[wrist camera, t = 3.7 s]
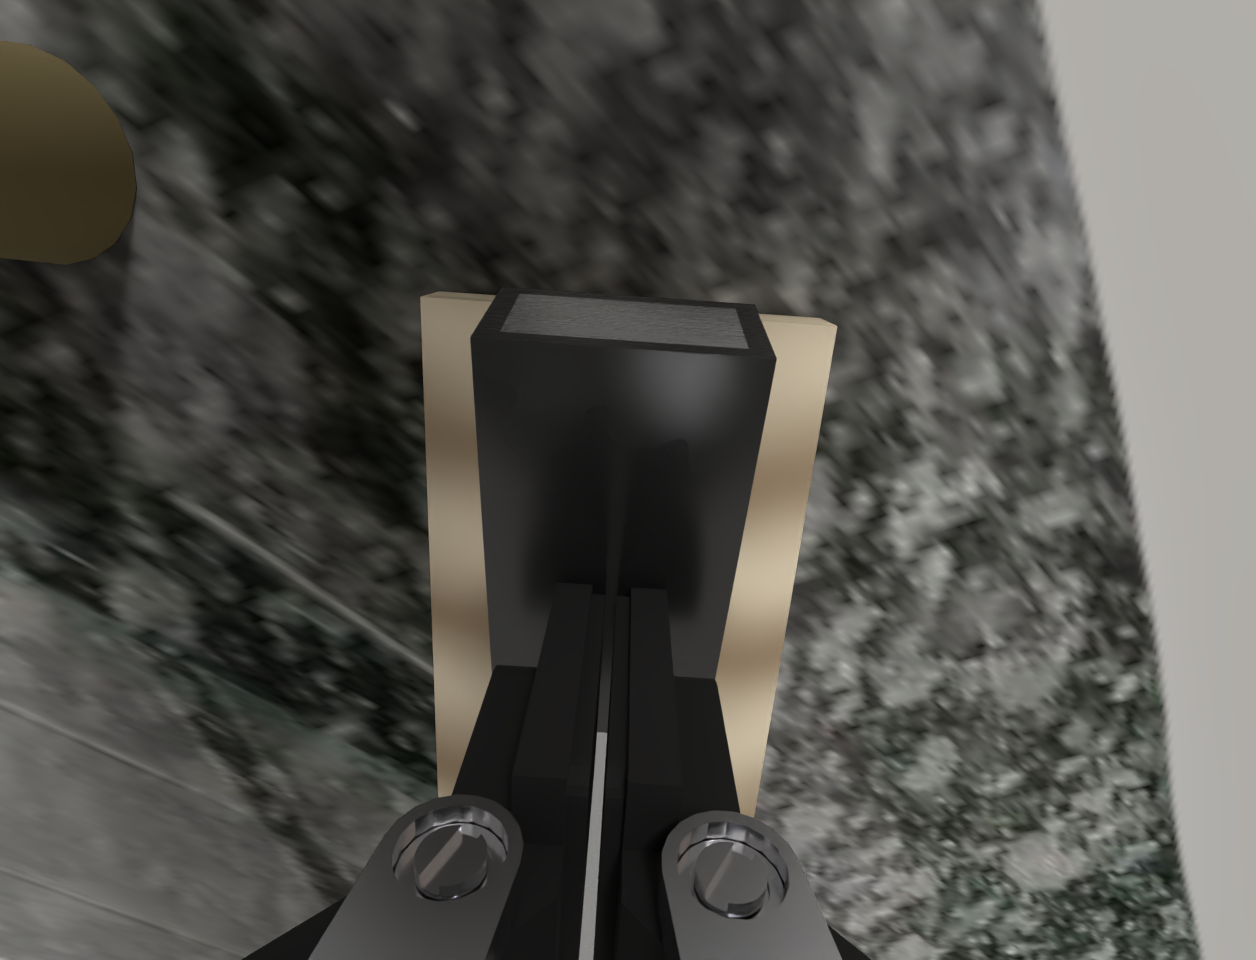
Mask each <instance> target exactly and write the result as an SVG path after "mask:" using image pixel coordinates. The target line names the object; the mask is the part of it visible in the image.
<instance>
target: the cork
mask: <svg viewBox="0 0 1256 960" xmlns="http://www.w3.org/2000/svg"><path fill="white" fill-rule="evenodd" d="M135 193H136V180H135V172H134V164H133V156H132V152H131V149H130V147H129V144H128V142H127V139H126V137H125V135H124V132H123V130H122V127H121V125H120V122H119V120H118V118H117V116H116V115H115V114H114V112H113V111H112V110H111V108H110V107H109V105H108V104H107V103H106V101H105V100H104V99H103V97H102V96H101V95H100V93H99V92H98V90H97V89H96V88H95V86H94V85H92V84H91V83H90V82H89V81H88V80H86V79H85V78H84V77H83V76H82V75H81V74H79V73H78V72H77V71H76V70H75V69H73V68H72V67H71V66H70V65H69V64H67V63H66V62H65V61H64V60H62V59H59V58H57V57H55V56H53V55H51V54H49V53H47V52H44V51H42V50H40V49H38V48H36V47H34V46H32V45H28V44H21V43H14V42H7V41H0V258H6V259H15V260H25V261H34V262H43V263H52V264H61V265H68V264H72V263H76V262H81V261H85V260H90V259H94V258H95V257H96V256H98V255H99V254H101V253H102V252H103V251H105V250H106V249H108V248H109V247H111V246H112V245H113V244H115V243H116V242H117V240H118V238H119V237H120V235H121V234H122V232H123V230H124V229H125V227H126V225H127V224H128V222H129V221H130V219H131V214H132V209H133V204H134V198H135Z"/></svg>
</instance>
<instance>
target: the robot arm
mask: <svg viewBox="0 0 1256 960" xmlns="http://www.w3.org/2000/svg"><path fill="white" fill-rule="evenodd" d="M592 589H593V585H587V584H572V583H557V585H556V589H555V593H554V598H553V602H552V606H551V610H550V615H549V619H548V623H547V627H546V632H545V636H544V640H543V644H542V649H541V653H540V657H539V661H538V666H537V667H525V666H509V665H497V666H495V668H494V670H493V673H492V675H491V678H490V681H489V684H488V687H487V690H486V693H485V696H484V699H483V702H482V705H481V708H480V711H479V714H478V717H477V720H476V723H475V726H474V729H473V732H472V735H471V738H470V741H469V744H468V747H467V750H466V753H465V756H464V759H463V762H462V765H461V768H460V771H459V774H458V777H457V780H456V783H455V786H454V789H453V792H452V795H450V796H445V797H439V798H435V799H432V800H430V801H428V802H425V803H423V804H421V805H418V806H416V807H414V808H413V809H412V810H410V811H409V812H407V813H406V814H405V815H403V816H402V817H401V818H399V819H398V820H397V821H396V822H395V823H394V825H393V826H392V827H391V828H390V829H389V831H388V832H387V833H386V834H385V835H384V837H383V838H382V840H381V842H380V843H379V845H378V847H377V848H376V850H375V851H374V853H373V855H372V856H371V858H370V860H369V861H368V863H367V864H366V866H365V868H364V869H363V871H362V873H361V874H360V876H359V877H358V879H357V881H356V882H355V884H354V886H353V887H352V889H351V890H350V892H349V894H348V895H347V896H346V897H344V898H343V899H341V900H339V901H338V902H336V903H335V904H333V905H331V906H330V907H328V908H326V909H325V910H323V911H321V912H320V913H318V914H316V915H315V916H313V917H311V918H310V919H308V920H306V921H305V922H303V923H301V924H300V925H298V926H296V927H295V928H293V929H291V930H290V931H288V932H286V933H285V934H283V935H282V936H280V937H278V938H277V939H275V940H273V941H272V942H270V943H268V944H267V945H265V946H263V947H262V948H260V949H258V950H257V951H255V952H253V953H252V954H250V955H248V956H247V957H245V958H243V959H242V960H579V952H580V940H581V928H582V915H583V903H584V891H585V878H586V866H587V854H588V842H589V829H590V817H591V805H592V792H593V780H594V768H595V755H596V741H597V725H598V709H599V694H600V678H601V662H602V646H603V630H604V615H605V598H606V595H596V594H592ZM593 960H871V959H870V958H868V957H867V956H866V955H865V954H863V953H862V952H861V951H860V950H858V949H857V948H856V947H855V946H853V945H852V944H851V943H850V942H848V941H847V940H846V939H845V938H843V937H842V936H841V935H840V934H838V933H837V932H836V931H835V930H833V929H832V928H831V927H830V926H828V925H827V923H826V921H825V919H824V916H823V914H822V912H821V909H820V907H819V905H818V902H817V900H816V898H815V895H814V893H813V891H812V888H811V886H810V884H809V881H808V879H807V877H806V875H805V872H804V870H803V868H802V865H801V863H800V861H799V859H798V858H797V856H796V854H795V853H794V851H793V850H792V848H791V846H790V845H789V843H788V842H786V841H785V840H784V839H783V838H782V837H781V836H780V835H779V834H778V833H777V832H776V831H775V830H774V829H773V828H771V827H769V826H767V825H766V824H764V823H762V822H761V821H759V820H757V819H755V818H753V817H750V816H747V815H743V814H741V813H740V808H739V802H738V797H737V791H736V785H735V780H734V774H733V769H732V763H731V758H730V752H729V747H728V741H727V736H726V730H725V724H724V719H723V713H722V708H721V702H720V697H719V691H718V686H717V683H716V680H715V679H710V678H695V677H679V676H674V673H673V661H672V649H671V637H670V625H669V613H668V601H667V591H666V590H663V589H648V588H632V587H631V594H630V597H627V596H617V600H616V614H615V628H614V643H613V657H612V671H611V686H610V700H609V715H608V729H607V744H606V759H605V775H604V791H603V808H602V824H601V840H600V856H599V873H598V889H597V905H596V922H595V938H594V954H593Z"/></svg>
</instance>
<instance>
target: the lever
mask: <svg viewBox="0 0 1256 960" xmlns="http://www.w3.org/2000/svg"><path fill="white" fill-rule="evenodd" d="M470 344H471V359H472V375H473V390H474V406H475V421H476V437H477V452H478V468H479V483H480V499H481V514H482V530H483V545H484V561H485V576H486V591H487V607H488V622H489V638H490V653H491V669H492V673H493V670H494V668H495V666H497V665H509V666H525V667H537V666H538V661H539V657H540V653H541V649H542V644H543V640H544V636H545V632H546V627H547V623H548V619H549V615H550V610H551V606H552V602H553V598H554V593H555V589H556V585H557V583H572V584H587V585H593V589H592V594H596V595H606V598H605V615H604V630H603V646H602V662H601V678H600V694H599V709H598V725H597V741H596V755H595V768H594V780H593V792H592V805H591V817H590V829H589V842H588V854H587V866H586V878H585V891H584V903H583V915H582V928H581V940H580V952H579V960H593V954H594V938H595V922H596V905H597V889H598V873H599V856H600V840H601V824H602V808H603V791H604V775H605V759H606V744H607V729H608V715H609V700H610V686H611V671H612V657H613V643H614V628H615V614H616V600H617V596H627V597H630V594H631V587H632V588H648V589H663V590H666V591H667V601H668V613H669V625H670V637H671V649H672V661H673V673H674V676H679V677H695V678H710V679H715V678H716V673H717V667H718V662H719V657H720V652H721V647H722V641H723V636H724V631H725V626H726V621H727V616H728V610H729V605H730V600H731V595H732V590H733V584H734V579H735V574H736V569H737V564H738V558H739V553H740V548H741V543H742V538H743V532H744V527H745V522H746V517H747V512H748V507H749V501H750V496H751V491H752V486H753V481H754V475H755V470H756V465H757V460H758V455H759V449H760V444H761V439H762V434H763V429H764V423H765V418H766V413H767V408H768V403H769V397H770V392H771V387H772V382H773V377H774V372H775V366H776V361H777V358H776V355H775V353H774V350H773V348H772V345H771V343H770V341H769V338H768V336H767V333H766V331H765V328H764V326H763V324H762V321H761V319H760V316H759V314H758V311H757V309H756V307H755V305H754V304H740V303H725V302H711V301H697V300H683V299H669V298H655V297H641V296H626V295H612V294H598V293H584V292H570V291H556V290H542V289H527V288H513V287H501V288H500V290H499V292H498V293H497V295H496V296H495V298H494V300H493V301H492V303H491V304H490V306H489V308H488V309H487V311H486V312H485V314H484V316H483V317H482V319H481V321H480V322H479V324H478V325H477V327H476V329H475V330H474V332H473V333H472V335H471V337H470Z"/></svg>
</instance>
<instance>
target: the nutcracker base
mask: <svg viewBox="0 0 1256 960" xmlns="http://www.w3.org/2000/svg"><path fill="white" fill-rule="evenodd" d="M495 296H496V295H485V294H471V293H457V292H443V291H439V292H435V293H432V294H428V295H425V296H421V297H420V303H421V330H422V358H423V386H424V414H425V442H426V470H427V498H428V526H429V554H430V582H431V610H432V637H433V665H434V693H435V721H436V749H437V777H438V798H439V797H445V796H450V795H452V792H453V789H454V786H455V783H456V780H457V777H458V774H459V771H460V768H461V765H462V762H463V759H464V756H465V753H466V750H467V747H468V744H469V741H470V738H471V735H472V732H473V729H474V726H475V723H476V720H477V717H478V714H479V711H480V708H481V705H482V702H483V699H484V696H485V693H486V690H487V687H488V684H489V681H490V678H491V675H492V669H491V653H490V638H489V622H488V607H487V591H486V576H485V561H484V545H483V530H482V514H481V499H480V483H479V468H478V452H477V437H476V421H475V406H474V390H473V375H472V359H471V344H470V337H471V335H472V333H473V332H474V330H475V329H476V327H477V325H478V324H479V322H480V321H481V319H482V317H483V316H484V314H485V312H486V311H487V309H488V308H489V306H490V304H491V303H492V301H493V300H494V298H495ZM759 316H760V319H761V321H762V324H763V326H764V328H765V331H766V333H767V336H768V338H769V341H770V343H771V345H772V348H773V350H774V353H775V355H776V358H777V361H776V366H775V372H774V377H773V382H772V387H771V392H770V397H769V403H768V408H767V413H766V418H765V423H764V429H763V434H762V439H761V444H760V449H759V455H758V460H757V465H756V470H755V475H754V481H753V486H752V491H751V496H750V501H749V507H748V512H747V517H746V522H745V527H744V532H743V538H742V543H741V548H740V553H739V558H738V564H737V569H736V574H735V579H734V584H733V590H732V595H731V600H730V605H729V610H728V616H727V621H726V626H725V631H724V636H723V641H722V647H721V652H720V657H719V662H718V667H717V673H716V678H715V680H716V683H717V686H718V691H719V697H720V702H721V708H722V713H723V719H724V724H725V730H726V736H727V741H728V747H729V752H730V758H731V763H732V769H733V774H734V780H735V785H736V791H737V797H738V802H739V808H740V813H741V814H743V815H747V816H750V817H753V818H754V814H755V808H756V802H757V797H758V791H759V785H760V779H761V773H762V767H763V761H764V755H765V749H766V743H767V738H768V732H769V726H770V720H771V714H772V708H773V702H774V696H775V690H776V685H777V679H778V673H779V667H780V661H781V655H782V649H783V643H784V637H785V631H786V626H787V620H788V614H789V608H790V602H791V596H792V590H793V584H794V578H795V573H796V567H797V561H798V555H799V549H800V543H801V537H802V531H803V525H804V519H805V514H806V508H807V502H808V496H809V490H810V484H811V478H812V472H813V466H814V461H815V455H816V449H817V443H818V437H819V431H820V425H821V419H822V413H823V407H824V402H825V396H826V390H827V384H828V378H829V372H830V366H831V360H832V354H833V349H834V343H835V337H836V331H837V326H836V325H834V324H831V323H829V322H827V321H825V320H823V319H821V318H811V317H797V316H783V315H769V314H759Z"/></svg>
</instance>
